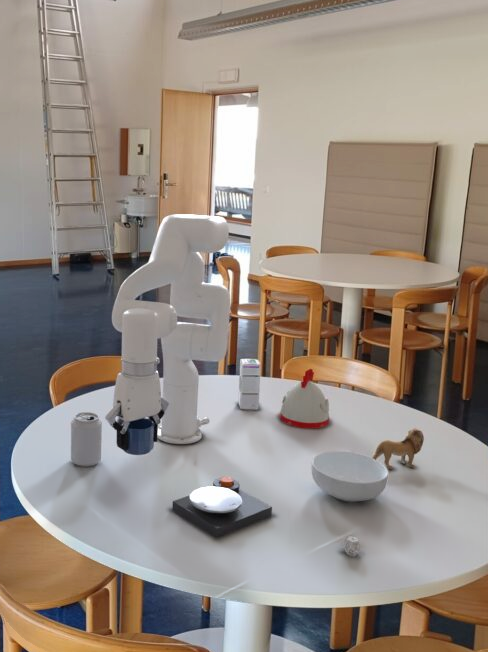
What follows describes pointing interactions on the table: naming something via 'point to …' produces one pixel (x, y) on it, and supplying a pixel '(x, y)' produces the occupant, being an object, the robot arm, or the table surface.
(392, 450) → the lion figurine
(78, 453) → the can
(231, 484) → the button
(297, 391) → the kitchen timer
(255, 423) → the table surface
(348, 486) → the cereal bowl
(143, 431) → the blue cup
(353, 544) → the game die
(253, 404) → the syrup box
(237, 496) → the pan
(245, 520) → the scale
